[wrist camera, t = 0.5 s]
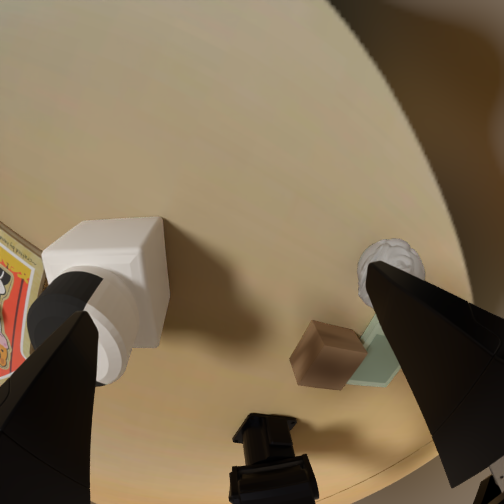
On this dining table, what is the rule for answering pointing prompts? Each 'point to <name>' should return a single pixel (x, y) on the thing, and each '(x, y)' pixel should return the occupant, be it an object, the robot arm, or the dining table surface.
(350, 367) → the walnut block
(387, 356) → the base board
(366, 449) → the dining table surface
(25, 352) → the knob puzzle
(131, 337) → the medicine bottle
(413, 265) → the grey lumpy rounded piece
